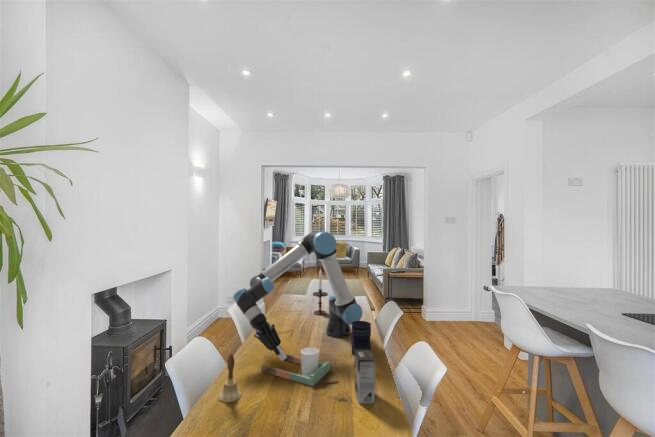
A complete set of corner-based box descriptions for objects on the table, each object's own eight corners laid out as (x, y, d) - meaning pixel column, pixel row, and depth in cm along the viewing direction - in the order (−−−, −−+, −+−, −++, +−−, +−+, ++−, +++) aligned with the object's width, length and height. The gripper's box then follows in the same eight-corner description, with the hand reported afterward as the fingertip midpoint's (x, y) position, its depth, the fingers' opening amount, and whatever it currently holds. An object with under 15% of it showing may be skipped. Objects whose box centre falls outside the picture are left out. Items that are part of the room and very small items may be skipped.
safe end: (289, 379, 131) (289, 370, 131) (308, 364, 145) (308, 356, 145) (312, 386, 126) (312, 376, 126) (329, 370, 140) (329, 361, 140)
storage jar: (359, 347, 165) (360, 319, 165) (374, 353, 158) (375, 323, 158) (347, 353, 158) (347, 323, 158) (362, 359, 151) (362, 328, 151)
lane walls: (261, 371, 138) (261, 365, 138) (281, 358, 152) (281, 352, 152) (276, 375, 134) (276, 369, 134) (295, 361, 148) (295, 356, 148)
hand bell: (242, 389, 123) (242, 349, 123) (240, 401, 115) (240, 358, 115) (220, 391, 121) (220, 350, 122) (216, 403, 113) (217, 359, 113)
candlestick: (325, 316, 219) (326, 266, 220) (310, 315, 222) (311, 265, 222) (328, 311, 230) (329, 264, 230) (314, 310, 232) (315, 263, 233)
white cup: (304, 379, 131) (304, 356, 131) (298, 371, 138) (298, 349, 138) (321, 376, 134) (321, 353, 134) (314, 368, 141) (314, 346, 141)
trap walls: (276, 375, 134) (276, 369, 134) (295, 361, 148) (295, 356, 148) (289, 379, 131) (289, 373, 131) (308, 364, 145) (308, 359, 145)
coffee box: (353, 390, 123) (354, 349, 123) (369, 390, 123) (370, 349, 124) (358, 404, 114) (358, 359, 114) (375, 403, 114) (375, 359, 115)
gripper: (260, 318, 156) (287, 358, 149) (242, 326, 145) (270, 370, 137) (268, 309, 154) (297, 349, 146) (251, 316, 142) (280, 360, 135)
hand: (284, 359), depth 142 cm, fingers closed
